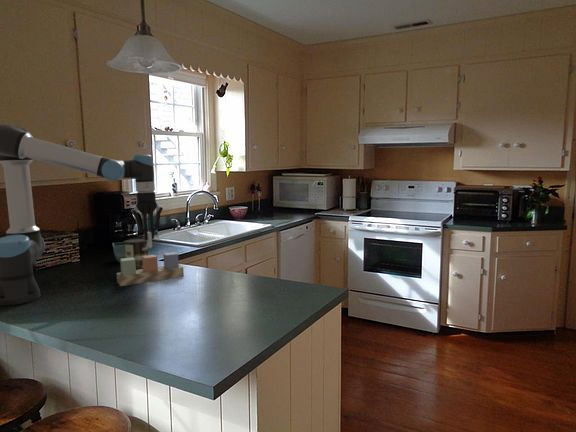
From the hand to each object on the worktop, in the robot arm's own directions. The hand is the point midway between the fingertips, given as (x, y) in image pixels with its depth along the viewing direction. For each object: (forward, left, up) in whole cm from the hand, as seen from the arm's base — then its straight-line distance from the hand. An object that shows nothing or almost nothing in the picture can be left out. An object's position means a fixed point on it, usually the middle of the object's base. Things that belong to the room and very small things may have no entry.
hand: (149, 247), depth 186 cm
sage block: (-9, 0, -11) cm, 14 cm away
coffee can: (-1, +20, -14) cm, 25 cm away
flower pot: (-3, +44, -14) cm, 46 cm away
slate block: (+9, 0, -11) cm, 14 cm away
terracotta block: (0, 0, -11) cm, 11 cm away
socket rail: (0, 0, -14) cm, 14 cm away
